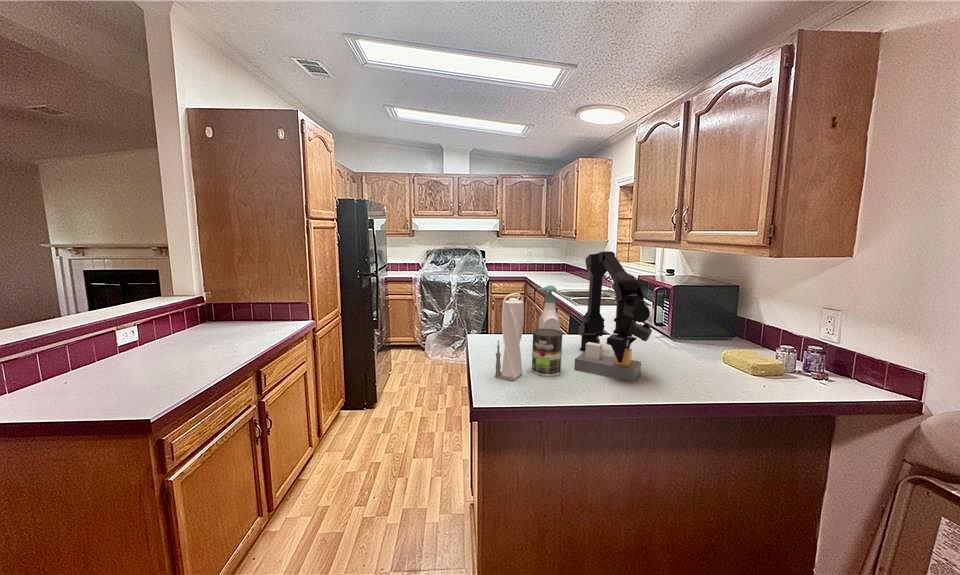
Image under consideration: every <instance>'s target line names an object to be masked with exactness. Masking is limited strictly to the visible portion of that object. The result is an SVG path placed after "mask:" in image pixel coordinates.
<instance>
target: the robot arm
mask: <svg viewBox="0 0 960 575" xmlns="http://www.w3.org/2000/svg"><path fill="white" fill-rule="evenodd" d="M585 266H586V271H587V273H588V275H589V286H588V288H589V289H588V301H587V302H588V303H587V311H586V313H585V314H584V315H583V317H582V321H581V323H580V325H579V327H578V328H577V329H578V330H577V331H578V335H579V336H580V337H581V341H580V342H581V344H580V348H579V351H583V352H585V349H586V343H588V342H592V343H598V344H601V339H599V338H600V337H603V335H604V332H605V330H604V329H605V319H604V318H605V317H603V316H602V313H601V305H602V304H601V302H602V293H603V292H602V290H603V278H604V276H605V275H606V274H607V272H608V274H609V276H610V278H611V279H612V281H613V284H612V289H613V291H614V293H615V295H616V296H615V298H614V300H615V301H616V310H615V311H616V312H615V318H614V319H613V322H615V329H614V330H613V331H612V332H613V333H612V334H611V335H609V336H608V337H607V338H606V345H608V346H611V348H612V350H613V354H614V353H615V355H616V358H617V360H618V362H619V363H622V360H623V356H624V352H625V348H628V349H631V348H630V347H631V345H632V343H633V342H635V341H636V340H637V338H638V339H640V340H641V341H644V342H648V340H649V338H650V337H651V335H652V332H653V329H652V328H651V324H650V323H648V322H646V321H647V320H648V319H649V318H650V315H651V311H650V308H649V307H648V305H646V304H645V297H644V296H645V294H644V291H643V290H642V288H641V284H640V281H639V280H638V279H637V278H636V277H635V276H634V275H632V274H630V273H628V272H627V271H626V270H625V269H624V267H623V266H622V264H621V263H620V261H619V260H618V258H617V257H616V253H615V252H614V251H610V250H609V251H606V250H605V251H603V250H602V251H599V252H598V253H589V255H588V256H586V258H585ZM644 322H645V323H644ZM639 323H640V324H639ZM641 323H644V324H641Z"/></svg>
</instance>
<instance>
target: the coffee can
mask: <svg viewBox="0 0 960 575" xmlns="http://www.w3.org/2000/svg"><path fill="white" fill-rule="evenodd" d="M563 334H564V333H563V332H562V331H561V330H560V331H559V330H554V329H539V328H537V329H534V330H532V351H531V352H532V353H531V354H532V356H531V357H532V358H531V361H532V362H531V372H532V373H533V374H535V375H537V376H541V377H556V376H560V374H561V373H562V354H563V351H562V350H563Z"/></svg>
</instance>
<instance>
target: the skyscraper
mask: <svg viewBox="0 0 960 575" xmlns="http://www.w3.org/2000/svg"><path fill="white" fill-rule="evenodd" d="M513 295H518V296H517V298H513V297H512V298H509V297H510V296H513ZM520 297H521V293H519V292H513V293H509V294H506V296H505V297H504V299H503V301H502V309H501V310H502V312H501V315H502V316H501V330H502V339H503V344H504V348H503V357H502V365H501V354H502V353H501V352H500V346H501V345H500V340H497V345H496V347H497V350H496V353H495V361H496V362H495V375H494V377H493V378H495V377H496V379H500V378H501V379H500V380H504V379H505V381H510V382H515V381H517V379H519V378H521V376H522V375H523V366H522V365H523V364H522V353H521V345H520V343H521V340H522V336H523V330H524V320H525V319H524V318H525V316H524V314H525V310H524V309H525V308H524V303H525V302H524V300H519V299H520ZM507 298H509V299H508V300H507Z"/></svg>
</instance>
